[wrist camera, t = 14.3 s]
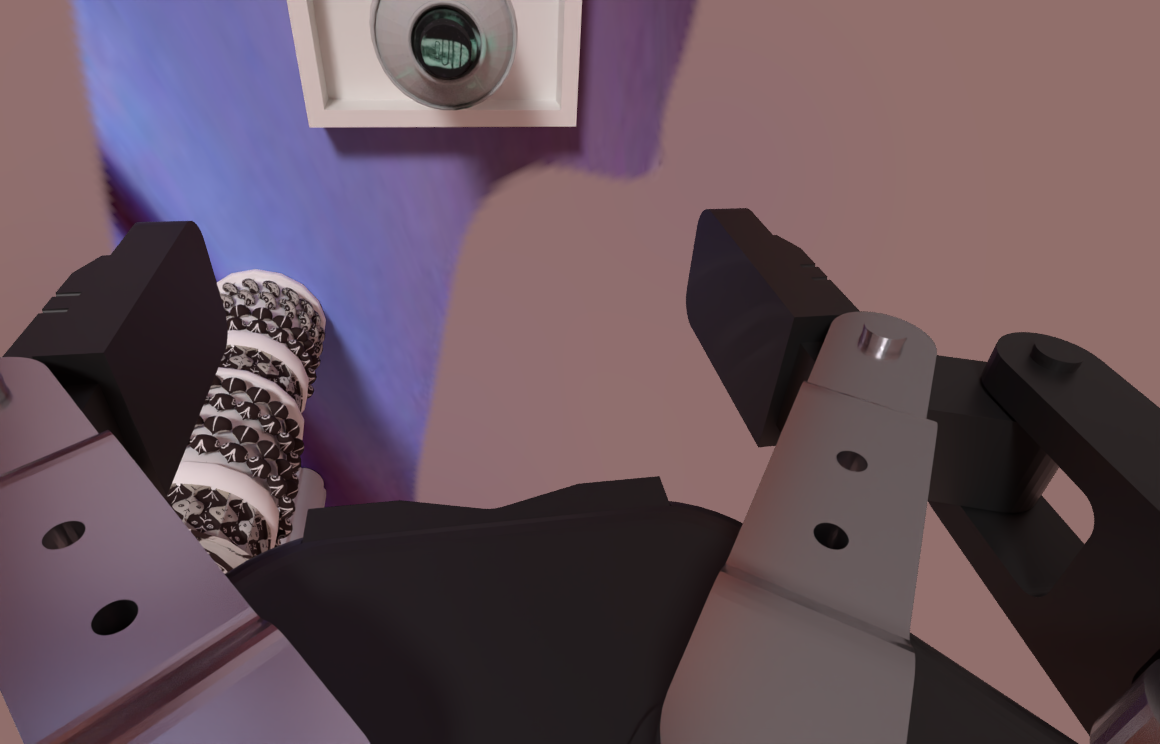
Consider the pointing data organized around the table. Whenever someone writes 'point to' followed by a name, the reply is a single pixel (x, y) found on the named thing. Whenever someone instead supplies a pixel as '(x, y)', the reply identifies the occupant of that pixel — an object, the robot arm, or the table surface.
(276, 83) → the table surface
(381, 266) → the table surface
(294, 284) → the decorative candle
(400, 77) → the spray can
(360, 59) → the tray
